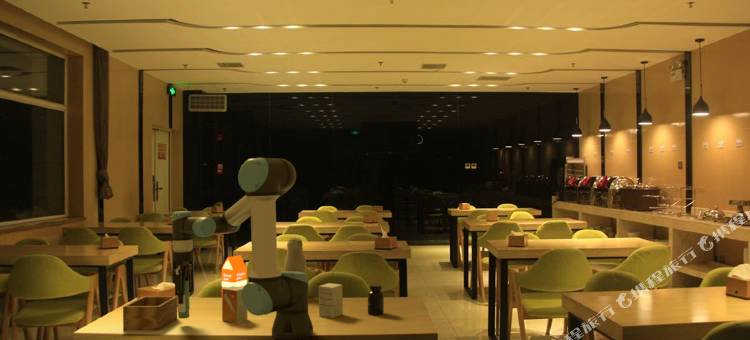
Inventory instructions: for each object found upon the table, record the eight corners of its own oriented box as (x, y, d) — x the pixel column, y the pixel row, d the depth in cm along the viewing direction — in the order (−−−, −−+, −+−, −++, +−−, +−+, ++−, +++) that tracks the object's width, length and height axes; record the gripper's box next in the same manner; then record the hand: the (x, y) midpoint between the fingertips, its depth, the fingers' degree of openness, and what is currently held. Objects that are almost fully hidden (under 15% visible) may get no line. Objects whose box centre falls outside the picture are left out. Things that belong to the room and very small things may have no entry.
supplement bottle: (364, 314, 242) (364, 285, 242) (372, 311, 248) (372, 283, 248) (379, 316, 239) (379, 287, 239) (386, 312, 245) (386, 284, 245)
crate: (177, 318, 238) (177, 296, 238) (159, 330, 220) (159, 306, 220) (143, 318, 238) (143, 296, 238) (123, 330, 220) (123, 306, 220)
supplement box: (328, 312, 246) (328, 282, 247) (343, 314, 243) (343, 284, 243) (318, 316, 240) (318, 285, 240) (333, 318, 236) (332, 287, 236)
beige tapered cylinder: (309, 295, 282) (308, 237, 282) (300, 299, 272) (300, 239, 272) (290, 293, 284) (290, 236, 285) (281, 298, 275) (281, 239, 275)
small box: (221, 320, 234) (221, 288, 234) (233, 317, 239) (232, 285, 239) (237, 323, 230) (236, 290, 230) (247, 319, 235) (247, 287, 235)
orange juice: (246, 297, 277) (246, 255, 277) (233, 301, 270) (233, 258, 270) (235, 295, 281) (234, 254, 281) (221, 299, 274) (221, 256, 274)
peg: (190, 317, 227) (190, 281, 227) (180, 319, 224) (180, 282, 224) (186, 315, 230) (186, 280, 230) (176, 317, 227) (176, 281, 227)
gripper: (181, 248, 236) (182, 305, 236) (164, 253, 219) (165, 315, 219) (199, 247, 236) (200, 305, 235) (184, 253, 219) (185, 315, 218)
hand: (183, 310), depth 227 cm, fingers closed on peg, 4 cm apart
